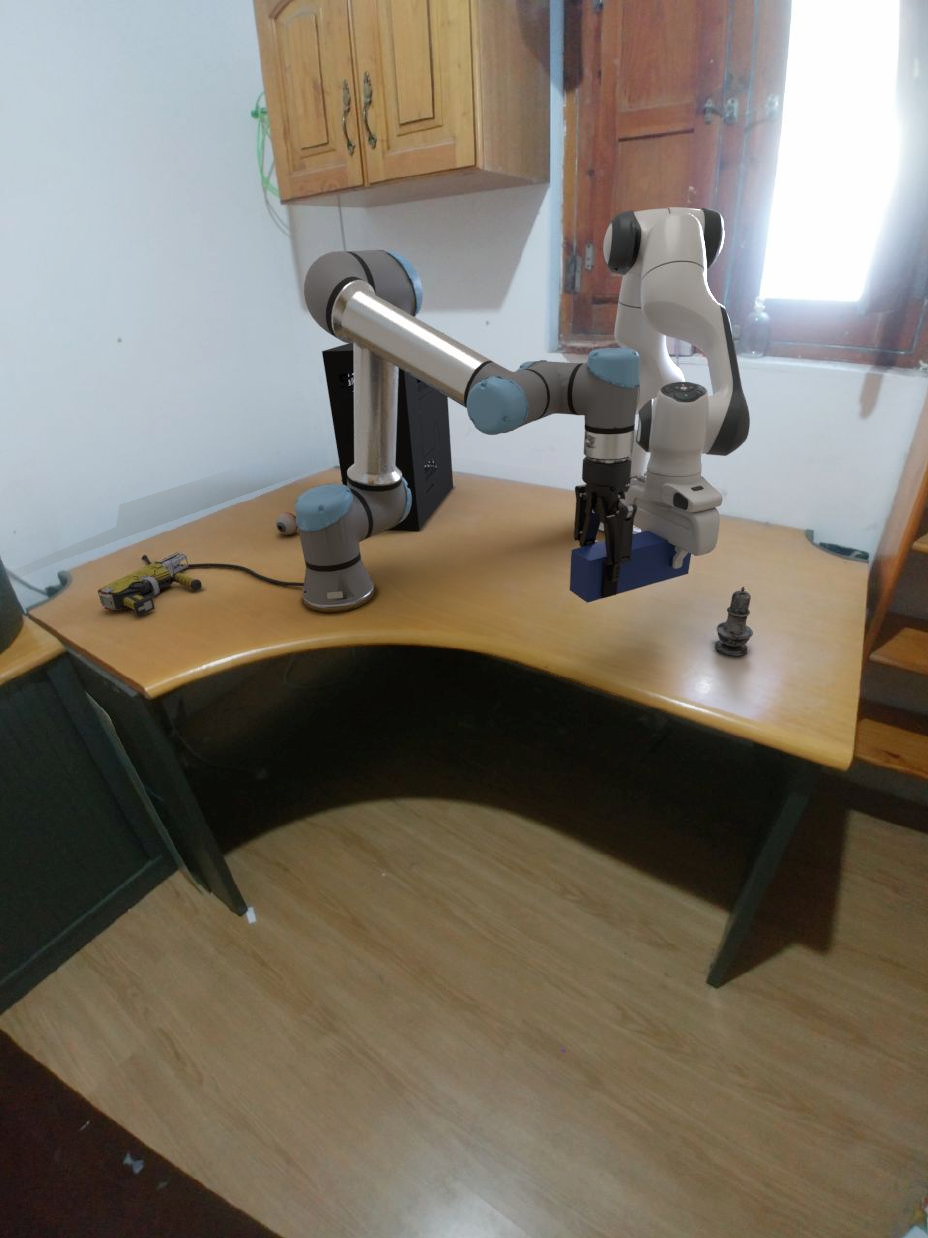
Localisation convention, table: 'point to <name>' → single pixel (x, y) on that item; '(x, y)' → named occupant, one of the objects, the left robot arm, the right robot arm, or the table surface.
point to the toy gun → (146, 585)
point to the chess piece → (735, 626)
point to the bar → (624, 566)
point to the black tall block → (398, 434)
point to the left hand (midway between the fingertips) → (598, 588)
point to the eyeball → (286, 523)
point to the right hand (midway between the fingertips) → (662, 560)
